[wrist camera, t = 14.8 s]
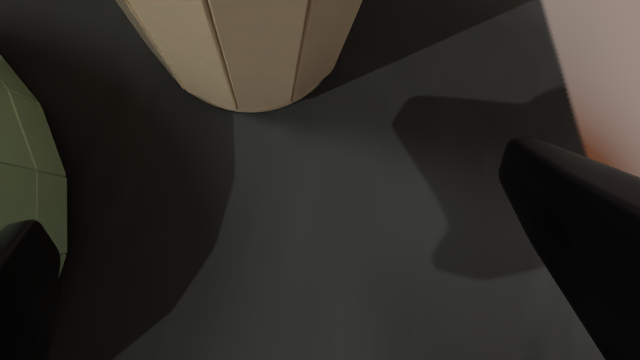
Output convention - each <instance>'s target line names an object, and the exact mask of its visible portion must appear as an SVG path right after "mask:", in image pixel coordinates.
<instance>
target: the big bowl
mask: <svg viewBox="0 0 640 360" xmlns="http://www.w3.org/2000/svg"><path fill="white" fill-rule="evenodd" d="M65 176H66V173H65V170H64V168H63V165H62V162H61V159H60V156H59V154H58V151H57V148H56V145H55V142H54V140H53V137H52V134H51V131H50V128H49V126H48V123H47V120H46V117H45V114H44V112H43V109H42V107H41V105H40V103H39V102H38V101H37V99H36V98H35V97H34V96H33V94H32V93H31V92H30V91H29V89H28V88H27V87H26V86H25V84H24V83H23V82H22V81H21V80H20V78H19V77H18V76H17V75H16V73H15V72H14V71H13V70H12V68H11V67H10V66H9V65H8V63H7V62H6V61H5V60H4V58H3V57H2V56H1V55H0V230H1V229H2V228H3V227H4V226H6V225H7V224H9V223H12V222H17V221H23V220H29V219H33V220H37V221H38V222H40V223H41V225H42V226H43V227H44V229H45V230H46V232H47V233H48V235H49V236H50V238H51V239H52V241H53V242H54V244H55V245H56V247H57V248H58V250H59V253H60V257H61V265H60V273H61V270H62V267H63V264H64V261H65V258H66V253H67V178H66V177H65ZM59 276H60V275H59Z"/></svg>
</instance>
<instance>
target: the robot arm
mask: <svg viewBox="0 0 640 360" xmlns="http://www.w3.org/2000/svg"><path fill="white" fill-rule="evenodd" d="M499 179H500V182H501V185H502V187H503V189H504V191H505V193H506V195H507V197H508V199H509V201H510V203H511V205H512V207H513V209H514V211H515V213H516V215H517V217H518V219H519V221H520V223H521V225H522V227H523V229H524V231H525V233H526V235H527V237H528V238H529V240H530V242H531V244H532V245H533V247H534V249H535V250H536V252H537V254H538V255H539V257H540V258H541V260H542V261H543V263H544V265H545V266H546V268H547V269H548V271H549V272H550V274H551V276H552V277H553V279H554V280H555V282H556V283H557V285H558V286H559V288H560V290H561V291H562V293H563V294H564V296H565V297H566V299H567V300H568V302H569V304H570V305H571V307H572V308H573V310H574V311H575V313H576V315H577V316H578V318H579V319H580V321H581V322H582V324H583V325H584V327H585V329H586V330H587V332H588V333H589V335H590V336H591V338H592V340H593V341H594V343H595V344H596V346H597V347H598V349H599V350H600V352H601V354H602V355H603V357H604V358H605V360H640V178H639V177H637V176H634V175H632V174H629V173H627V172H624V171H621V170H619V169H616V168H613V167H611V166H608V165H605V164H603V163H600V162H597V161H594V160H592V159H590V158H587V157H584V156H582V155H579V154H576V153H574V152H571V151H568V150H566V149H563V148H560V147H558V146H555V145H553V144H550V143H547V142H545V141H542V140H539V139H537V138H534V137H530V136H526V137H520V138H514V139H511V140H510V141H509V142H508V143H507V145H506V148H505V152H504V155H503V158H502V162H501V165H500V168H499ZM60 265H61V257H60V253H59V250H58V248H57V247H56V245H55V244H54V242H53V241H52V239H51V238H50V236H49V235H48V233H47V232H46V230H45V229H44V227H43V226H42V225H41V223H40V222H38V221H37V220H33V219H29V220H23V221H17V222H12V223H9V224H7V225H6V226H4V227H3V228H2V229H1V230H0V360H49V355H50V350H51V345H52V340H53V333H54V325H55V315H56V305H57V295H58V285H59V275H60Z"/></svg>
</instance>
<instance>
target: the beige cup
mask: <svg viewBox="0 0 640 360" xmlns="http://www.w3.org/2000/svg"><path fill="white" fill-rule="evenodd" d="M362 1H363V0H116V2H117V3H118V5H119V6H120V7H121V9H122V10H123V12H124V13H125V15H126V16H127V17H128V19H129V20H130V22H131V23H132V24H133V26H134V27H135V29H136V30H137V31H138V33H139V34H140V36H141V37H142V39H143V40H144V41H145V43H146V44H147V46H148V47H149V48H150V50H151V51H152V52H153V54H154V55H155V56H156V57H157V58H158V60H159V61H160V62H161V63H162V64H163V66H164V67H165V68H166V69H167V71H168V72H169V73H170V75H171V76H172V77H173V78H174V79H175V80H176V81H177V82H178V83H179V85H180V86H181V87H182V88H183V89H184V90H185V89H186V91H187V92H188V93H191V94H192V95H194V96H196V97H197V98H199V99H200V100H202V101H204V102H207V103H209V104H211V105H213V106H216V107H219V108H223V109H226V110H231V111H237V112H252V113H253V112H265V111H270V110H275V109H279V108H282V107H284V106H287V105H290V104H292V103H294V102H296V101H298V100H300V99H302V98H303V97H305V96H306V95H307V94H309V93H310V92H312V91H313V90H314V89H315V88H316V87H317V86H318V85H319V84H320V83H321V82H322V81H323V80H324V78H325V77H326V76H327V75H329V74H330V73H331V71H332V70H333V69H334V67H335V64H336V62H337V60H338V57H339V55H340V53H341V50H342V48H343V46H344V43H345V41H346V38H347V36H348V34H349V31H350V29H351V27H352V24H353V22H354V20H355V17H356V15H357V13H358V10H359V8H360V5H361V3H362Z"/></svg>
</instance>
